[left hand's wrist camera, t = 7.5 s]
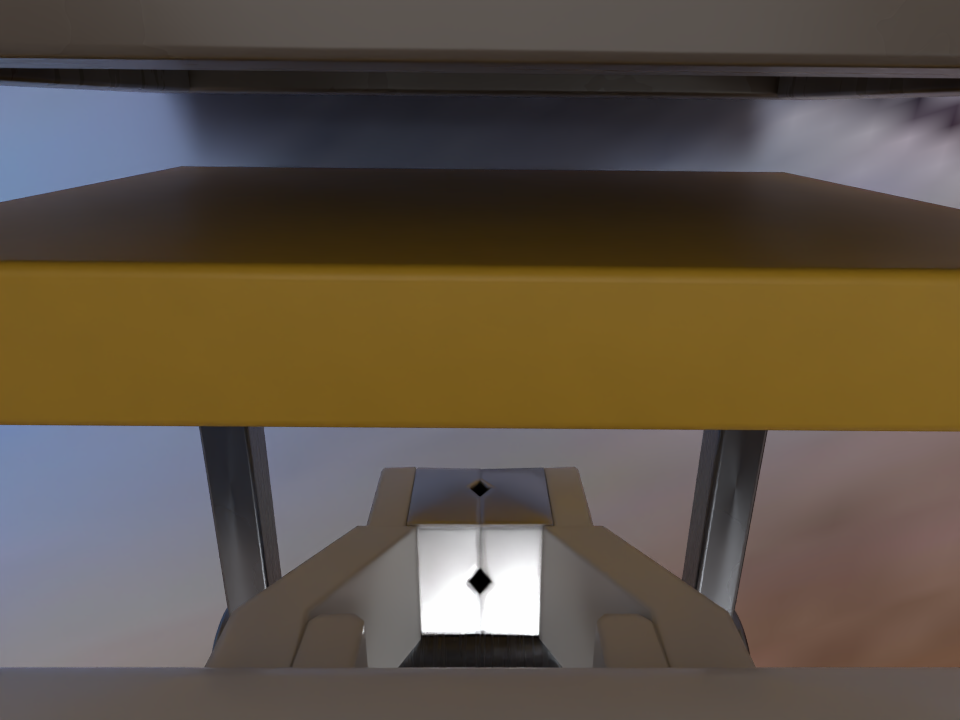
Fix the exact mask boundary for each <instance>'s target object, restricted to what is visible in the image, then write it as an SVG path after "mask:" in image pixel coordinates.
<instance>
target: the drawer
mask: <svg viewBox="0 0 960 720" xmlns="http://www.w3.org/2000/svg"><path fill="white" fill-rule="evenodd" d="M0 425H104V426H199V429H200V435H201V442H202V448H203V454H204V461H205V467H206V473H207V480H208V486H209V492H210V499H211V505H212V511H213V518H214V524H215V531H216V537H217V543H218V550H219V556H220V562H221V569H222V575H223V581H224V588H225V594H226V600H227V609H226V611H225V612H224V614H223V617H222V619H221V621H220V624H219V627H218V630H217V633H216V637H215V640H214V645H213V649H214V647H215V645H216V643H217V641H218V639H219V637H220V635H221V633H222V631H223V629H224V627H225V625H226V623H227V621H228V619H229V617H230V615H231V613H232V611H233V610H235V609H236V608H238V607H239V606H241V605H242V604H244V603H245V602H247V601H248V600H250V599H251V598H253V597H254V596H255V595H257V594H258V593H260V592H261V591H263V590H264V589H266V588H267V587H269V586H270V585H272V584H273V583H275V582H276V581H277V580H279V579H280V578H281V569H280V561H279V553H278V544H277V536H276V527H275V519H274V511H273V502H272V494H271V485H270V477H269V469H268V460H267V452H266V443H265V435H264V427H391V428H535V429H679V430H704V433H703V439H702V446H701V453H700V460H699V467H698V474H697V481H696V488H695V494H694V501H693V508H692V515H691V522H690V529H689V536H688V542H687V549H686V556H685V563H684V570H683V577H682V581H684V582H685V583H687V584H688V585H690V586H691V587H693V588H694V589H696V590H697V591H699V592H700V593H701V594H703V595H704V596H706V597H707V598H709V599H710V600H712V601H713V602H715V603H716V604H718V605H719V606H720V607H722V608H723V609H725V610H726V611H728V612H729V614H730V616H731V618H732V620H733V622H734V624H735V626H736V628H737V630H738V632H739V634H740V636H741V638H742V640H743V642H744V644H745V646H746V648H747V651H748V653H749V655H750V652H749V648H748V643H747V639H746V636H745V632H744V629H743V626H742V624H741V621H740V619H739V617H738V615H737V613H736V612H735V604H736V599H737V594H738V588H739V583H740V577H741V572H742V566H743V561H744V556H745V550H746V545H747V539H748V534H749V528H750V523H751V518H752V512H753V507H754V501H755V496H756V490H757V485H758V479H759V474H760V469H761V463H762V458H763V452H764V447H765V441H766V436H767V431H768V430H823V431H960V209H956V208H951V207H946V206H942V205H937V204H932V203H927V202H923V201H918V200H913V199H908V198H904V197H899V196H894V195H889V194H885V193H880V192H875V191H870V190H865V189H861V188H856V187H851V186H846V185H842V184H837V183H832V182H827V181H823V180H818V179H813V178H808V177H804V176H799V175H794V174H789V173H785V172H697V171H596V170H495V169H394V168H293V167H192V166H181V167H176V168H171V169H166V170H161V171H156V172H151V173H146V174H141V175H136V176H131V177H126V178H121V179H115V180H110V181H105V182H100V183H95V184H90V185H85V186H80V187H75V188H70V189H65V190H60V191H55V192H50V193H45V194H40V195H35V196H30V197H25V198H20V199H15V200H10V201H4V202H0ZM212 651H213V650H212ZM398 668H563V667H562V666H561V665H560V664H559V662H558V661H557V660H556V659H555V657H554V656H553V655H552V654H551V652H550V651H549V650H548V649H547V647H546V646H545V645H544V644H543V642H542V641H541V640H540V639H539V636H533V635H496V634H463V635H427V636H421V640H420V641H419V642H418V643H417V645H416V646H415V647H414V648H413V650H412V651H411V652H410V653H409V654H408V656H407V657H406V658H405V659H404V661H403V662H402V663H401V664H400V666H399V667H398Z"/></svg>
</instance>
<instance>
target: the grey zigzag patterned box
mask: <svg viewBox="0 0 960 720" xmlns="http://www.w3.org/2000/svg"><path fill="white" fill-rule="evenodd" d="M0 86H20V87H42V88H63V89H85V90H106V91H127V92H150V93H205V94H298V95H391V96H485V97H578V98H671V99H764V100H822V99H866V98H908V97H950V96H960V0H0Z"/></svg>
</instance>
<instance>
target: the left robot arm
mask: <svg viewBox="0 0 960 720" xmlns="http://www.w3.org/2000/svg"><path fill="white" fill-rule="evenodd" d="M463 634H496V635H533V636H539V639H540V640H541V641H542V642H543V644H544V645H545V646H546V647H547V649H548V650H549V651H550V652H551V654H552V655H553V656H554V657H555V659H556V660H557V661H558V662H559V664H560V665H561V666H562V667H563V668H398V667H399V666H400V664H401V663H402V662H403V661H404V659H405V658H406V657H407V656H408V654H409V653H410V652H411V651H412V650H413V648H414V647H415V646H416V645H417V643H418V642H419V641H420V640H421V636H427V635H463ZM0 720H960V668H756V667H755V665H754V663H753V661H752V659H751V657H750V655H749V653H748V651H747V648H746V646H745V644H744V642H743V640H742V638H741V636H740V634H739V632H738V630H737V628H736V626H735V624H734V622H733V620H732V618H731V616H730V614H729V612H728V611H726V610H725V609H723V608H722V607H720V606H719V605H718V604H716V603H715V602H713V601H712V600H710V599H709V598H707V597H706V596H704V595H703V594H701V593H700V592H699V591H697V590H696V589H694V588H693V587H691V586H690V585H688V584H687V583H685V582H684V581H682V580H681V579H680V578H678V577H677V576H675V575H674V574H672V573H671V572H669V571H668V570H666V569H665V568H663V567H662V566H661V565H659V564H658V563H656V562H655V561H653V560H652V559H650V558H649V557H647V556H646V555H645V554H643V553H642V552H640V551H639V550H637V549H636V548H634V547H633V546H631V545H630V544H628V543H627V542H626V541H624V540H623V539H621V538H620V537H618V536H617V535H615V534H614V533H612V532H611V531H609V530H608V529H607V528H605V527H604V526H594V525H593V522H592V518H591V514H590V511H589V507H588V504H587V500H586V496H585V493H584V489H583V486H582V482H581V479H580V475H579V471H578V469H577V468H576V467H558V468H511V469H466V468H417V469H416V468H415V467H390V468H384V469H383V470H382V471H381V475H380V479H379V482H378V486H377V490H376V493H375V497H374V501H373V504H372V508H371V511H370V515H369V519H368V522H367V526H357V527H355V528H354V529H352V530H351V531H349V532H348V533H346V534H345V535H343V536H342V537H341V538H339V539H338V540H336V541H335V542H333V543H332V544H330V545H329V546H327V547H326V548H324V549H323V550H321V551H320V552H319V553H317V554H316V555H314V556H313V557H311V558H310V559H308V560H307V561H305V562H304V563H302V564H301V565H299V566H298V567H297V568H295V569H294V570H292V571H291V572H289V573H288V574H286V575H285V576H283V577H282V578H280V579H279V580H277V581H276V582H275V583H273V584H272V585H270V586H269V587H267V588H266V589H264V590H263V591H261V592H260V593H258V594H257V595H255V596H254V597H253V598H251V599H250V600H248V601H247V602H245V603H244V604H242V605H241V606H239V607H238V608H236V609H235V610H233V611H232V613H231V615H230V617H229V619H228V621H227V623H226V625H225V627H224V629H223V631H222V633H221V635H220V637H219V639H218V641H217V643H216V645H215V647H214V649H213V651H212V653H211V655H210V657H209V659H208V661H207V663H206V665H205V667H204V668H138V667H37V668H0Z"/></svg>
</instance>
